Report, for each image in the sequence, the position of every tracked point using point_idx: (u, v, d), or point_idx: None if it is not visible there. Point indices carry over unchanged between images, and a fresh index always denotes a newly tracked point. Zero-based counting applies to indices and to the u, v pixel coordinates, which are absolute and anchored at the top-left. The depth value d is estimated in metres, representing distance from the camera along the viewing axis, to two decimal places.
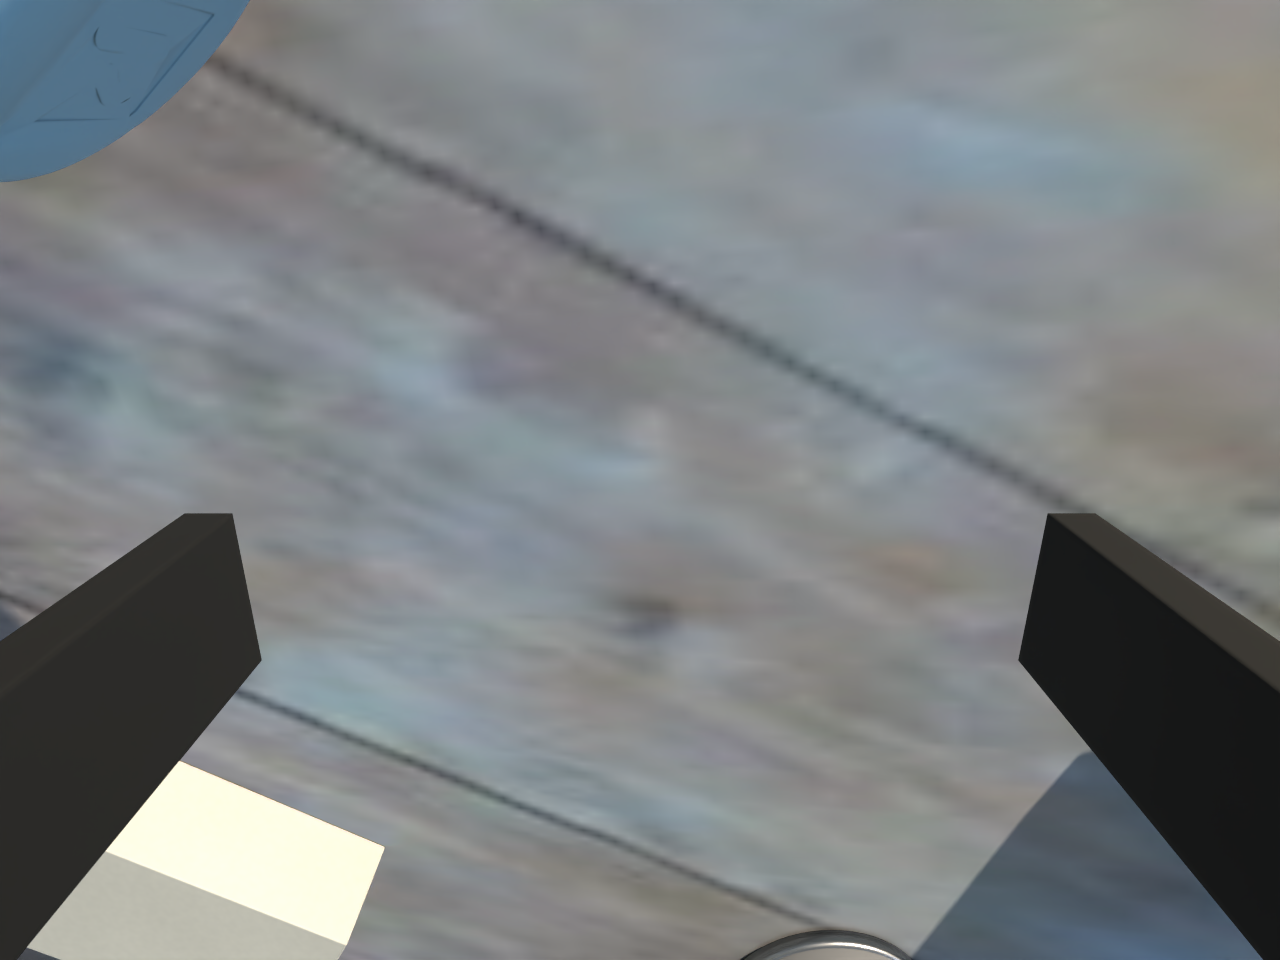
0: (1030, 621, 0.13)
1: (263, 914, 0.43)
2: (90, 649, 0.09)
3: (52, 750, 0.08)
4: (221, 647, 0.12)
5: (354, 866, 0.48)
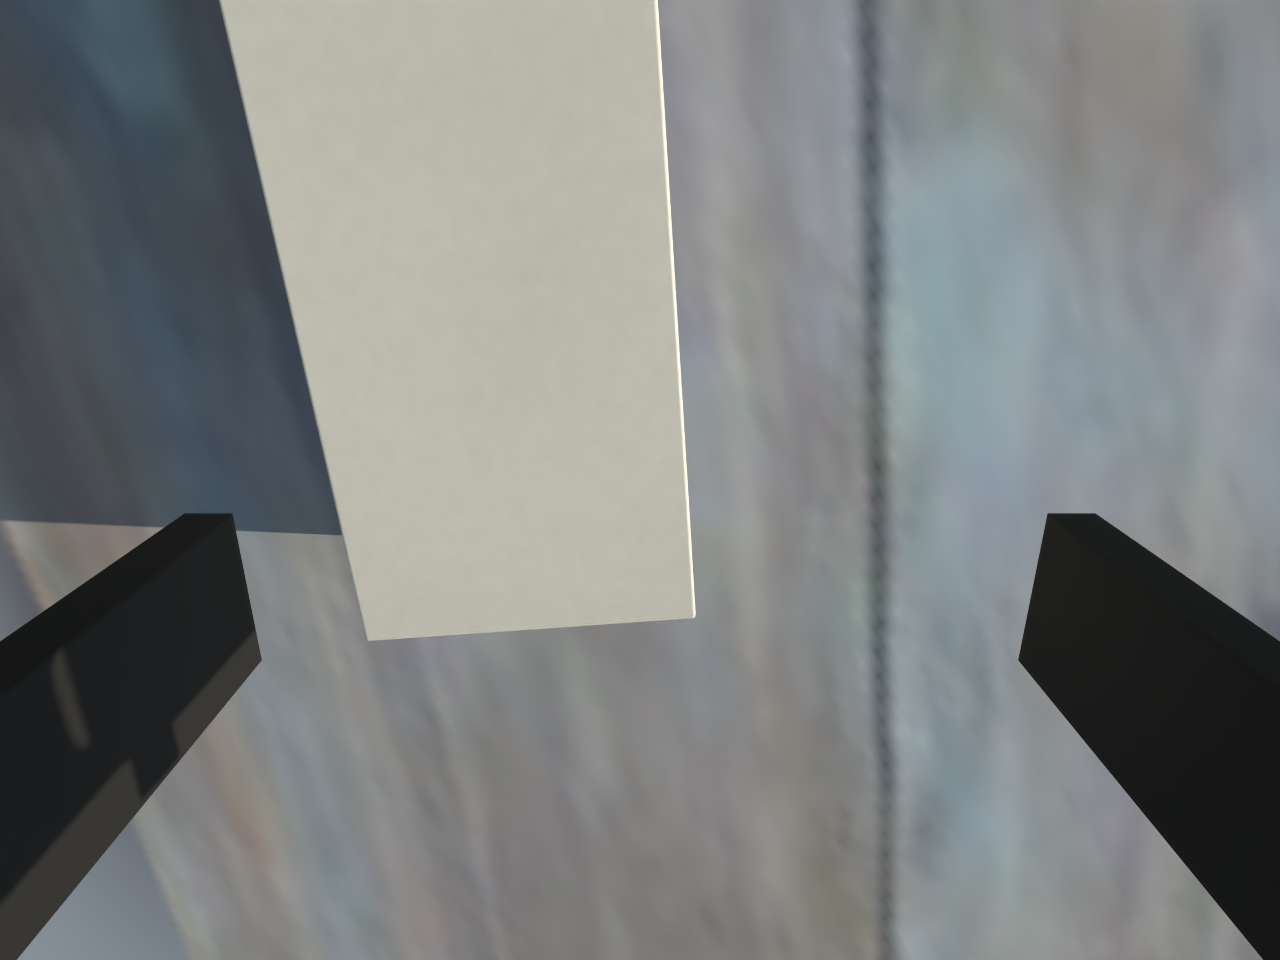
0: (1031, 621, 0.13)
1: (678, 452, 0.20)
2: (90, 649, 0.09)
3: (52, 750, 0.08)
4: (221, 647, 0.12)
5: None
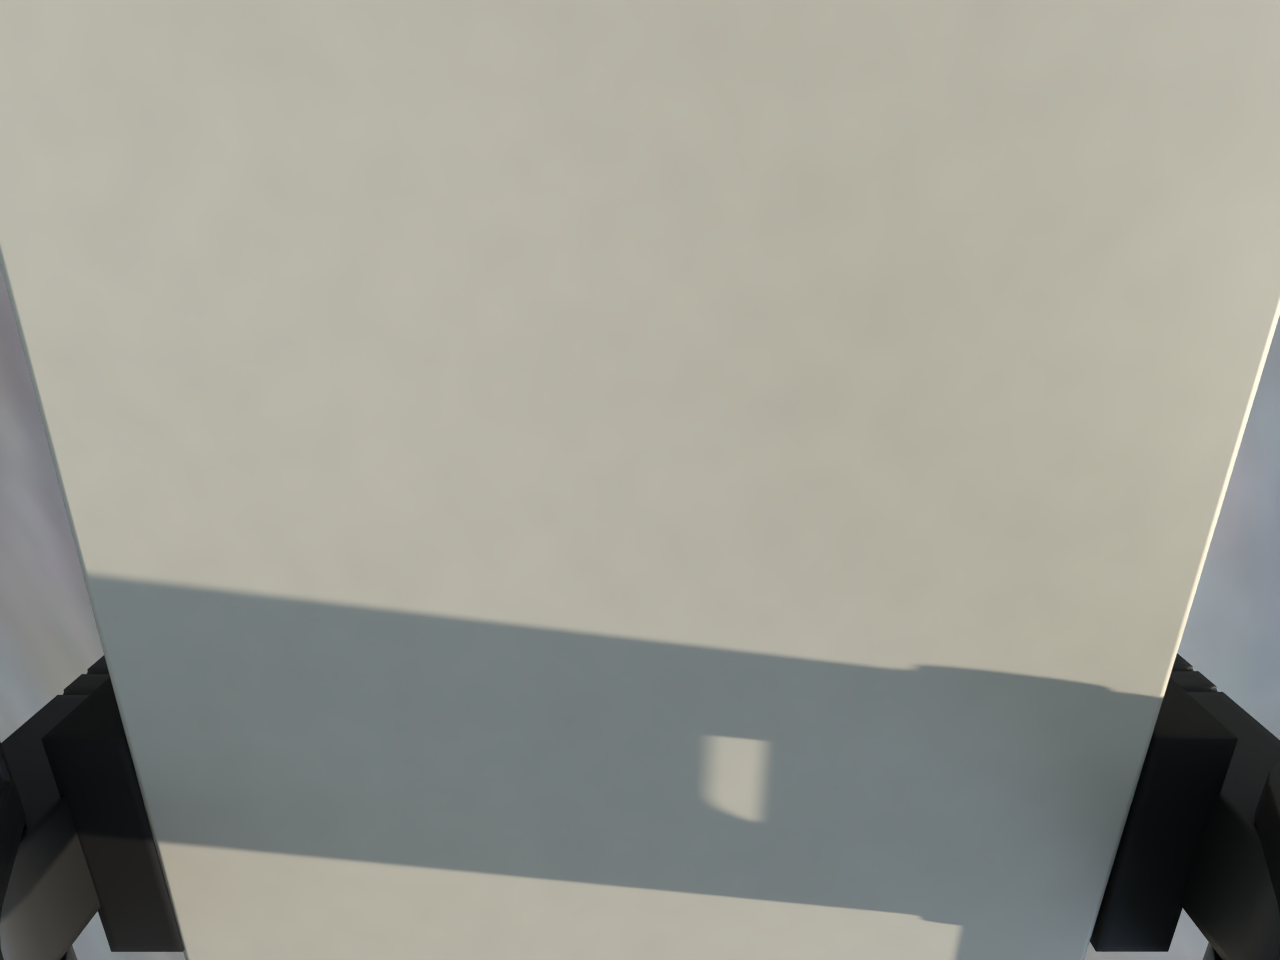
0: None
1: (1096, 874, 0.08)
2: None
3: None
4: None
5: None
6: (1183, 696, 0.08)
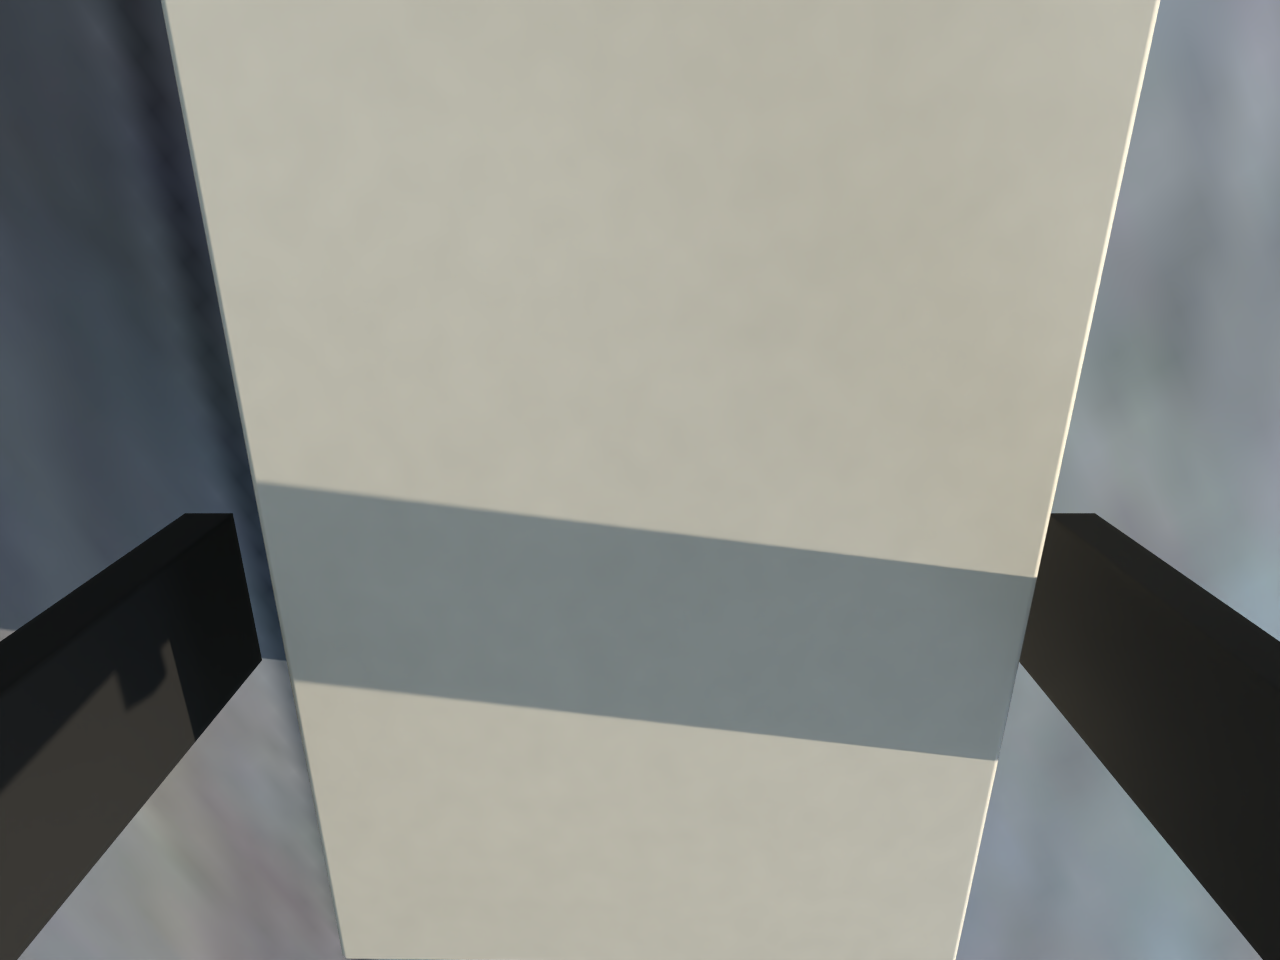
0: (1030, 620, 0.13)
1: (1000, 697, 0.10)
2: (91, 649, 0.09)
3: (53, 750, 0.08)
4: (222, 647, 0.12)
5: None
6: None
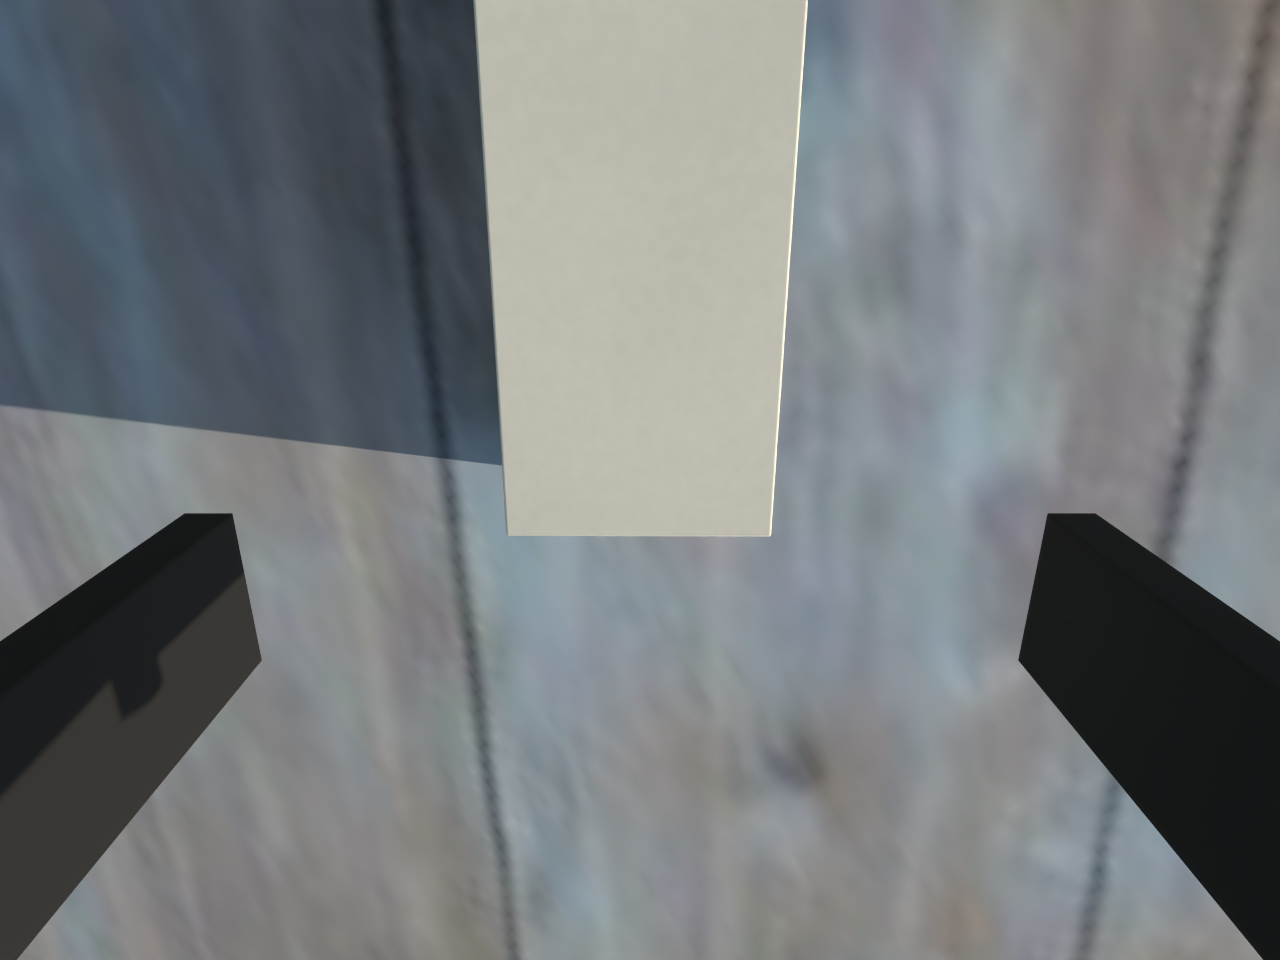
0: (1030, 620, 0.13)
1: (775, 401, 0.26)
2: (91, 649, 0.09)
3: (53, 750, 0.08)
4: (221, 647, 0.12)
5: None
6: None
